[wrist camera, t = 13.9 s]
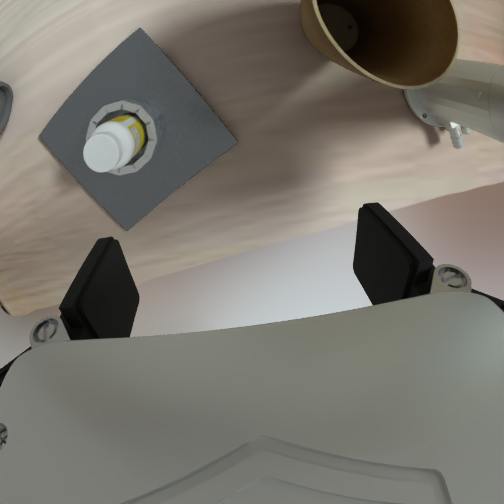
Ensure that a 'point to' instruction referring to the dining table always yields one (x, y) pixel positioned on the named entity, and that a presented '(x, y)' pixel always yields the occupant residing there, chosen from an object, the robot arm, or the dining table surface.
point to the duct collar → (157, 123)
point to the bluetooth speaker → (5, 104)
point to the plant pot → (386, 38)
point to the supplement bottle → (115, 143)
